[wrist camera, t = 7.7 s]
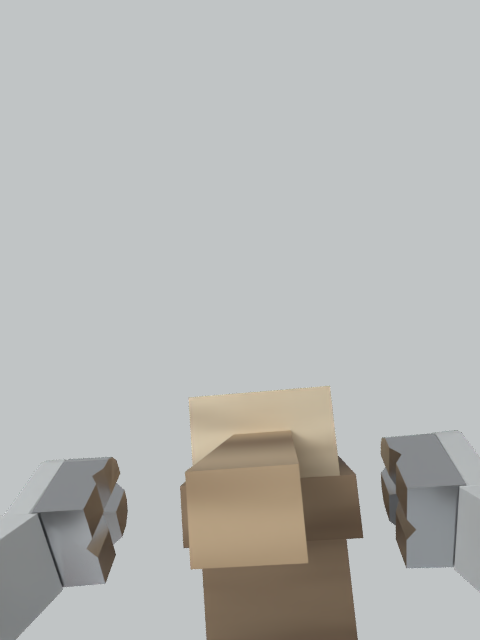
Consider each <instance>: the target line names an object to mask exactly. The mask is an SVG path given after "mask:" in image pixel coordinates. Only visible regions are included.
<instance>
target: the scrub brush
mask: <svg viewBox="0 0 480 640" xmlns="http://www.w3.org/2000/svg"><path fill="white" fill-rule="evenodd" d="M189 411H190V428H191V444H192V460H193V466H192V467H191V468H190V469H188V470H187V471H186V472H185V476H186V495H187V513H188V530H189V548H190V566H191V569H206V568H225V567H244V566H263V565H282V564H301V563H308V554H307V544H306V534H305V523H304V513H303V503H302V493H301V483H300V478H310V477H325V476H340V471H339V462H338V453H337V446H336V437H335V427H334V418H333V409H332V401H331V391H330V386H323V387H311V388H300V389H299V388H298V389H286V390H274V391H262V392H251V393H238V394H226V395H213V396H201V397H189Z"/></svg>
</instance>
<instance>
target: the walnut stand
mask: <svg viewBox="0 0 480 640" xmlns="http://www.w3.org/2000/svg"><path fill="white" fill-rule="evenodd" d="M338 462H339V471H340V476H325V477H310V478H300V483H301V493H302V503H303V513H304V523H305V534H306V544H307V554H308V563H301V564H282V565H263V566H244V567H225V568H206V569H202V571H203V587H204V603H205V620H206V636H207V640H358V638H357V630H356V621H355V612H354V603H353V594H352V585H351V576H350V568H349V558H348V549H347V540H346V539H353V538H363V531H362V523H361V515H360V506H359V498H358V489H357V481H356V474H355V473H354V472H353V471H352V470H351V469H350V468H349V467H348V466H347V465H346V464H345V462H344V461H342V459H341V458H340V457H339V456H338ZM180 490H181V509H182V527H183V545H184V548H189V530H188V513H187V495H186V482H185V483H184V484H182V485H181V486H180Z"/></svg>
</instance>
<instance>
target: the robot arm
mask: <svg viewBox="0 0 480 640" xmlns="http://www.w3.org/2000/svg"><path fill="white" fill-rule="evenodd" d="M381 456H382V459H383V461H384V464H385V466H386V467H385V469H384V470H383V471H382V472H381V483H382V493H383V500H384V504H385V508H386V512H387V515H388V518H389V521H390V522H392V523H393V524H394V525H396V540H397V543H398V546H399V549H400V552H401V554H402V557H403V560H404V562H405V565H406V568H435V567H436V568H438V567H454V569H455V571H457V572H458V573H459V574H460V575H461V576H462V577H463V578H464V579H465V580H467V581H468V582H469V583H470V584H471V585H472V586H473V587H474V588H475V589H477V590H478V591H479V592H480V457H479V456H478V454H477V453H476V451H475V450H474V449H473V447H472V446H471V445H470V443H469V442H468V440H467V439H466V438H465V436H464V435H463V434H462V432H460V431H458V430H454V431H445V432H435V433H432V434H420V435H409V436H398V437H397V436H396V437H384V438H382V441H381ZM119 475H120V471H119V467H118V464H117V461H116V460H115V459H114V458H113V457H105V458H104V457H103V458H83V459H68V460H52V461H45V462H43V463H41V464H40V465H39V466H38V468H37V469H36V471H35V472H34V473H33V475H32V476H31V477H30V479H29V480H28V482H27V483H26V485H25V486H24V487H23V489H22V490H21V492H20V493H19V495H18V496H17V498H16V499H15V500H14V502H13V503H12V504H11V506H10V508H9V509H8V510H7V511H6V513H5V515H4V516H0V640H16V639H17V638H18V637H19V635H20V634H21V633H22V632H23V631H24V630H25V629H26V628H27V627H28V626H29V625H30V624H31V623H32V622H33V621H34V620H35V618H37V617H38V615H39V614H40V613H41V612H42V611H43V610H44V609H45V608H46V607H47V606H48V605H49V604H50V603H51V602H52V601H53V600H54V599H55V598H56V597H57V595H58V594H59V593H60V592H61V591H62V590H63V588H62V587H72V586H84V585H95V584H105V583H106V580H107V577H108V574H109V572H110V569H111V567H112V563H113V561H114V558H115V555H116V554H115V550H114V546H113V544H115V543H116V542H117V541H118V540H119V539H120V538H121V537H122V536H123V533H124V530H125V527H126V520H127V511H128V510H127V499H126V495H125V491H124V489H122V488H121V487H120V486H119V485H118V484H117V483H116V482H117V479H118V477H119Z"/></svg>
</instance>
